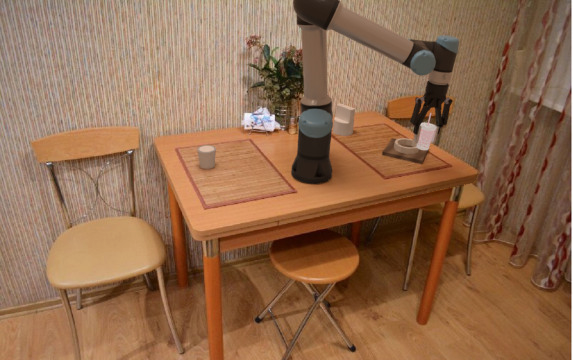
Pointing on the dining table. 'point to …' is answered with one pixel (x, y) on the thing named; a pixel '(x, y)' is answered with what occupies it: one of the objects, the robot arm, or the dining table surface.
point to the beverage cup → (426, 135)
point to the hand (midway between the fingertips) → (423, 141)
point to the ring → (406, 149)
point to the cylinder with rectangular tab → (344, 120)
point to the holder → (393, 153)
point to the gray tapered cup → (206, 156)
